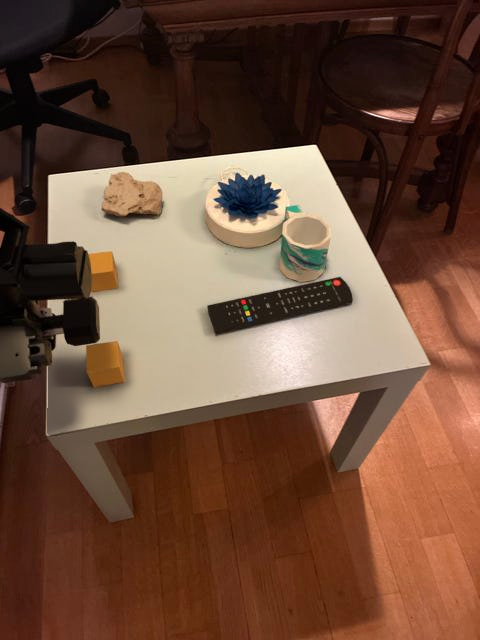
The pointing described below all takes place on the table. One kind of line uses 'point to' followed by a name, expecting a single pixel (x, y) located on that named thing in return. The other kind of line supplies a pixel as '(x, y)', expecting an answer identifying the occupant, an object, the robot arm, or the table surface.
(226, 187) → the box with blue lotus
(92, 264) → the ochre block middle
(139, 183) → the stone
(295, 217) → the mug
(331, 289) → the remote control
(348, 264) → the table surface
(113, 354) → the ochre block near
